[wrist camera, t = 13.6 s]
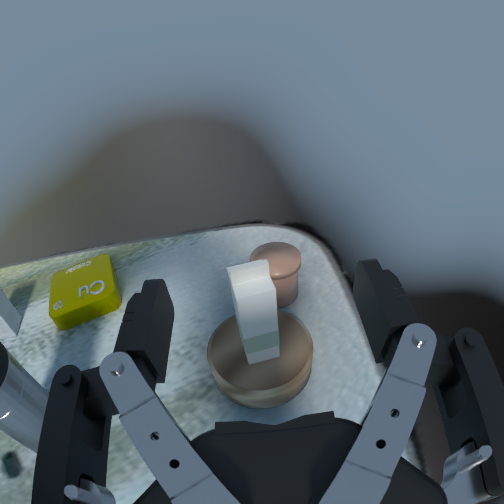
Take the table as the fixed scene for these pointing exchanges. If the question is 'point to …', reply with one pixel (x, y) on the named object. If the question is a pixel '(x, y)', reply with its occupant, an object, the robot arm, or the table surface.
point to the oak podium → (261, 364)
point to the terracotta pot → (281, 269)
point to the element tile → (84, 292)
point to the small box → (8, 317)
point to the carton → (255, 309)
